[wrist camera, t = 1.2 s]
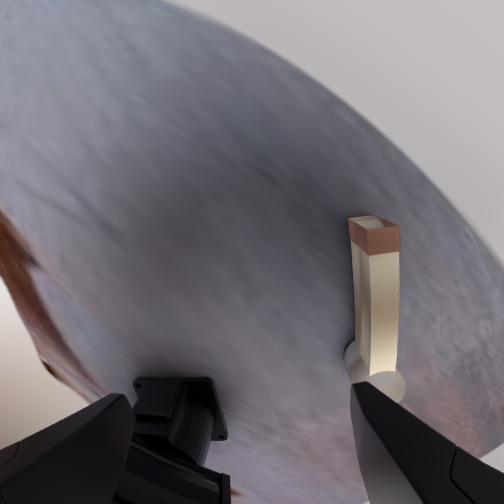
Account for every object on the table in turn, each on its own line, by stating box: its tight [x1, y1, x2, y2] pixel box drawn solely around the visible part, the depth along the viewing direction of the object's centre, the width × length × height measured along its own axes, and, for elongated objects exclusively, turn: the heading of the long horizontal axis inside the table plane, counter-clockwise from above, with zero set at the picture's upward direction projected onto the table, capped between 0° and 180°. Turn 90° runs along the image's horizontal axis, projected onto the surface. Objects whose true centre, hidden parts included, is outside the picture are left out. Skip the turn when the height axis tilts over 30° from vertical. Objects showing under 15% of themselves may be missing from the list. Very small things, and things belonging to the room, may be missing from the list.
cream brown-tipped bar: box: [344, 215, 406, 403], centre depth 16 cm, size 11×3×4 cm, turn 9°
